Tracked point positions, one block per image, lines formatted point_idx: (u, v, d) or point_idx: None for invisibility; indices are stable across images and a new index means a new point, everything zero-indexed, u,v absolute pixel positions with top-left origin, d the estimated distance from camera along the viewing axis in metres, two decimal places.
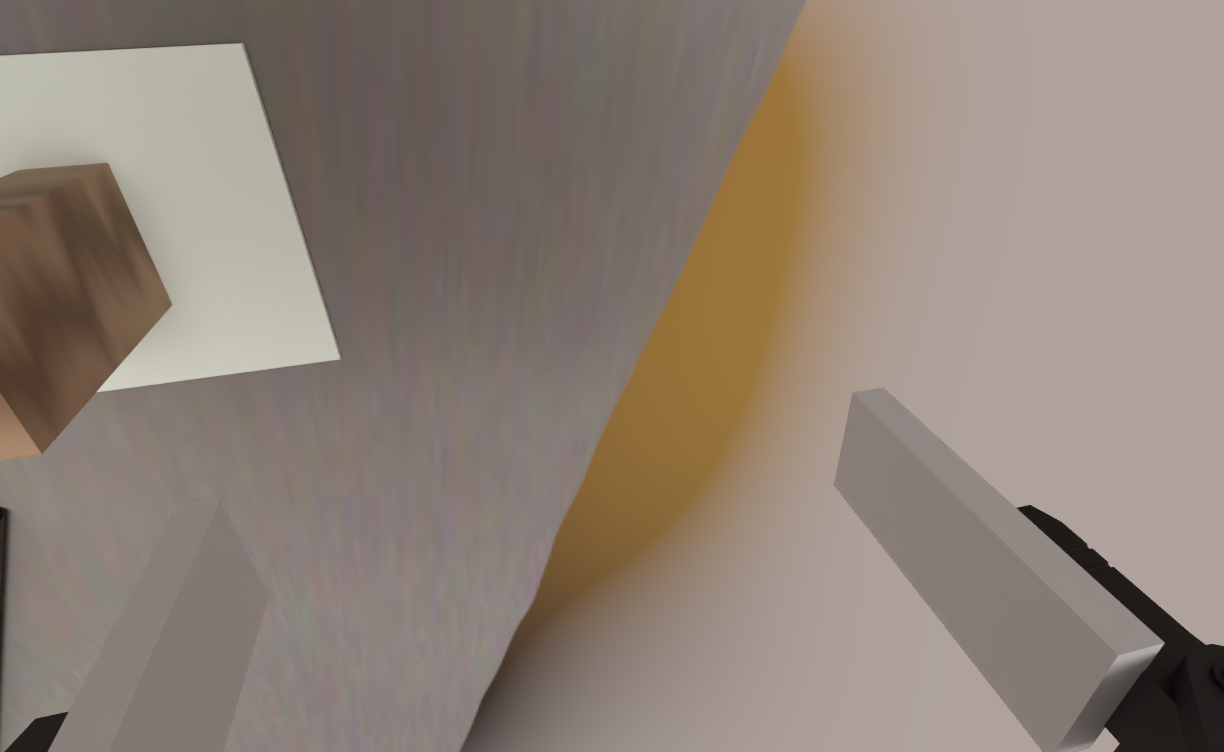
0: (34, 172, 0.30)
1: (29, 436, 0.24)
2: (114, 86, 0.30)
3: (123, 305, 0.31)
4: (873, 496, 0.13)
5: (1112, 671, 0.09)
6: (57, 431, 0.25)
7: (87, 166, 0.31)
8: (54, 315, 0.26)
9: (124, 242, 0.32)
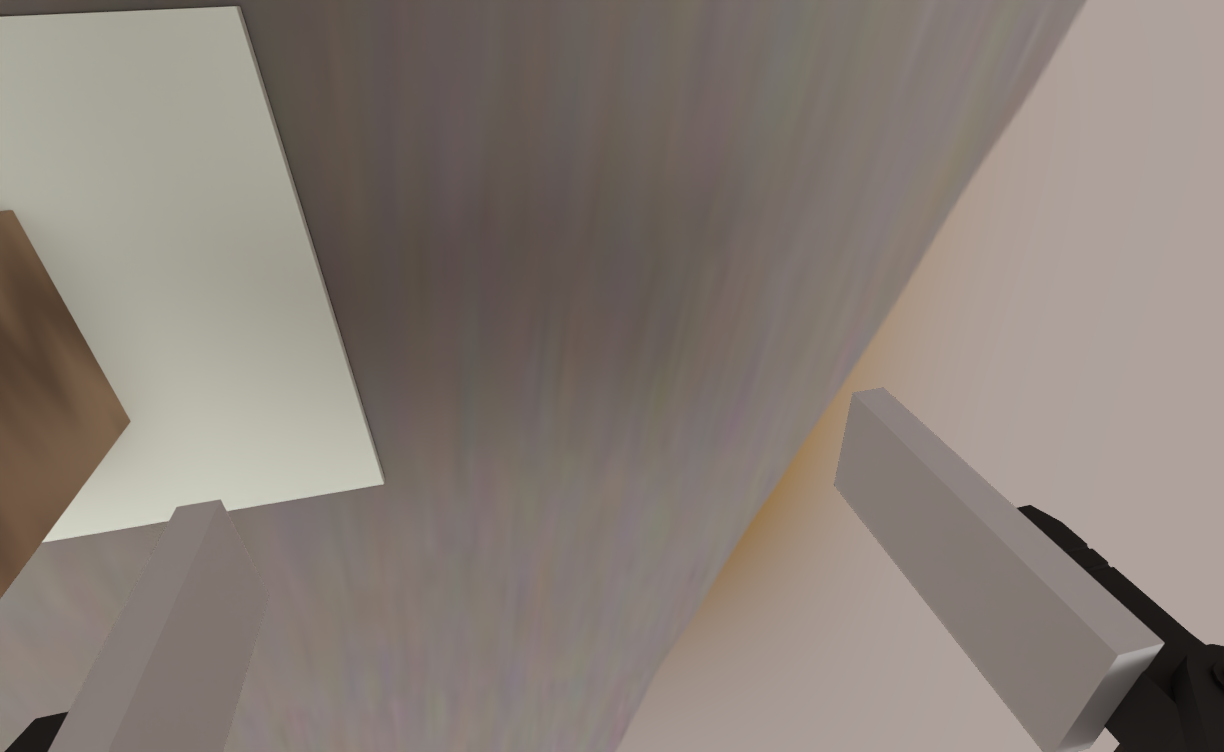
0: None
1: None
2: (14, 81, 0.17)
3: (36, 451, 0.18)
4: (873, 496, 0.13)
5: (1111, 671, 0.09)
6: None
7: None
8: None
9: (42, 340, 0.19)
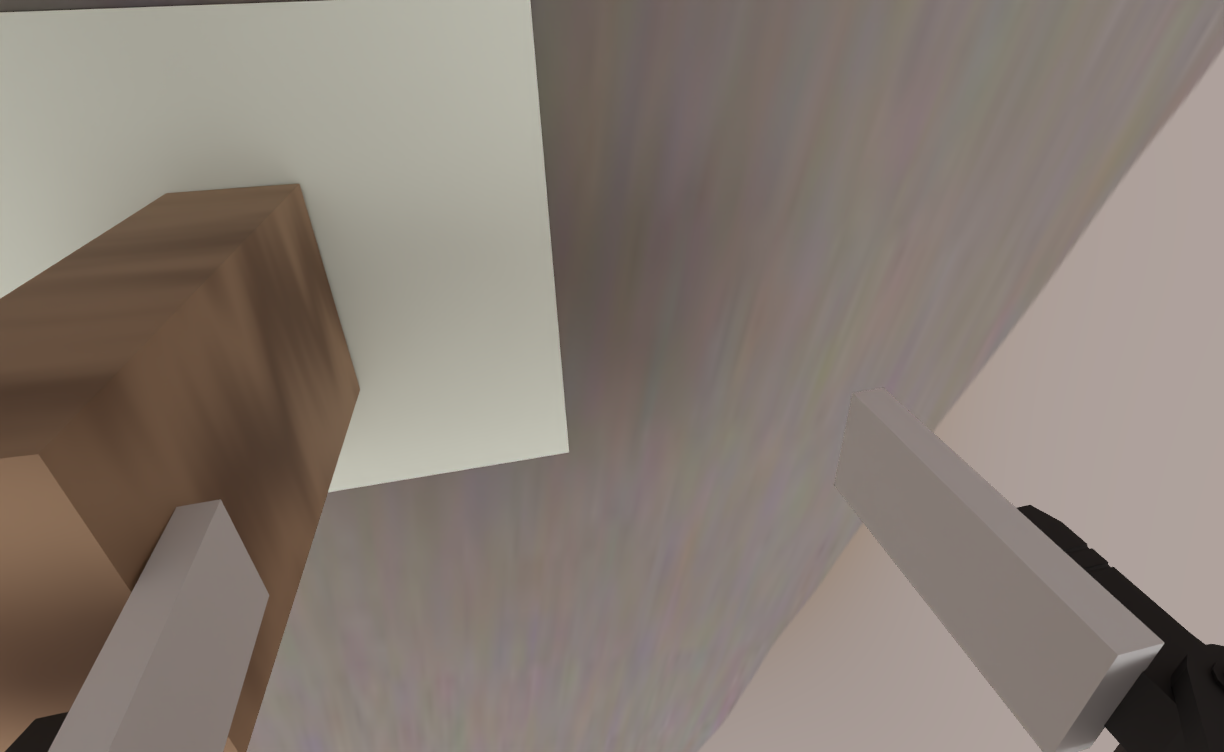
0: (193, 198, 0.19)
1: (228, 736, 0.12)
2: (327, 61, 0.19)
3: (320, 411, 0.20)
4: (874, 496, 0.13)
5: (1112, 671, 0.09)
6: (260, 694, 0.14)
7: (271, 189, 0.20)
8: (252, 468, 0.15)
9: (318, 307, 0.20)
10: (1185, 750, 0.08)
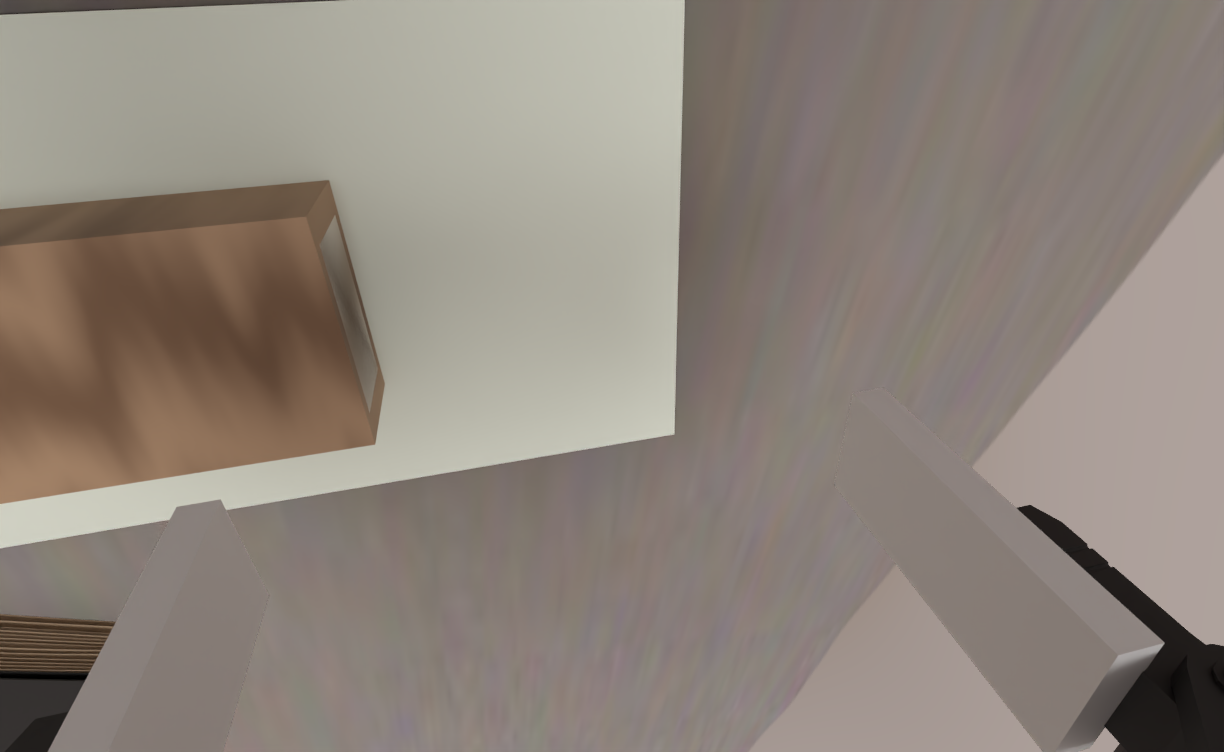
0: (290, 192, 0.19)
1: None
2: (494, 52, 0.20)
3: (213, 416, 0.20)
4: (873, 496, 0.13)
5: (1112, 671, 0.09)
6: None
7: (290, 211, 0.18)
8: (5, 393, 0.18)
9: (277, 339, 0.19)
10: (1185, 750, 0.08)
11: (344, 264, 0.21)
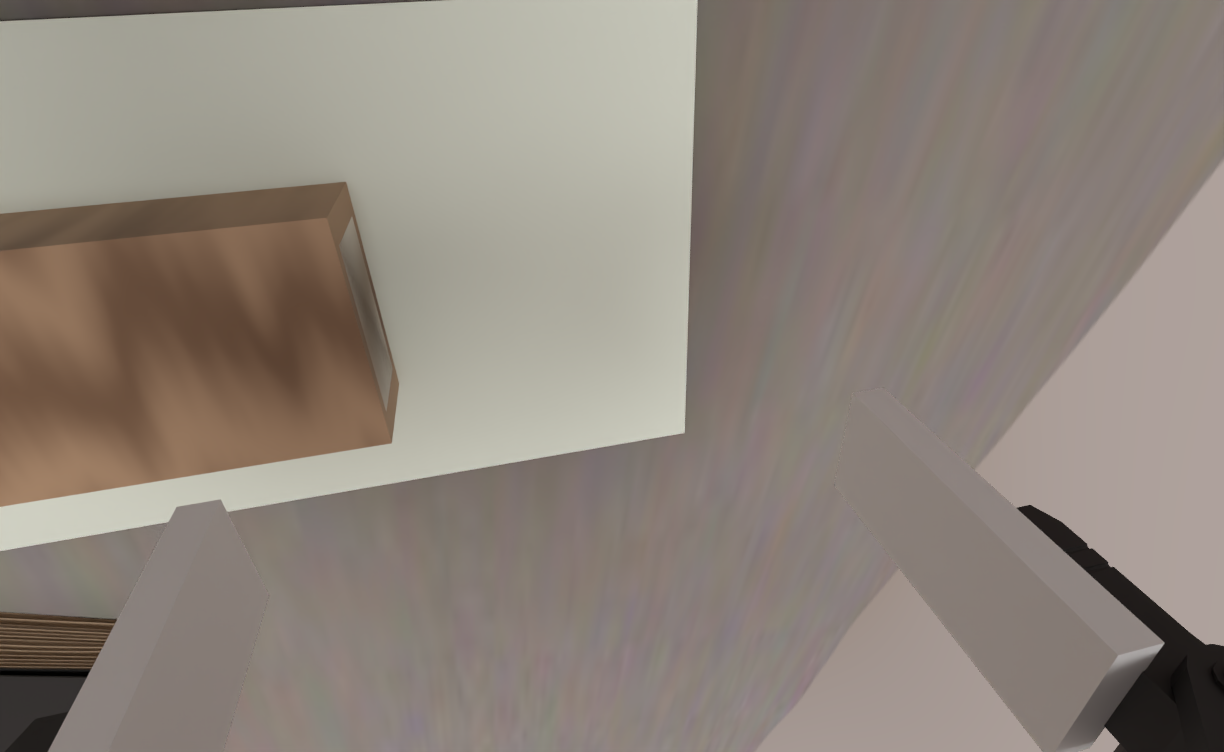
0: (309, 194, 0.20)
1: None
2: (509, 54, 0.20)
3: (233, 416, 0.20)
4: (873, 496, 0.13)
5: (1112, 671, 0.09)
6: None
7: (310, 212, 0.18)
8: (30, 393, 0.18)
9: (297, 339, 0.19)
10: (1185, 750, 0.08)
11: (361, 265, 0.21)
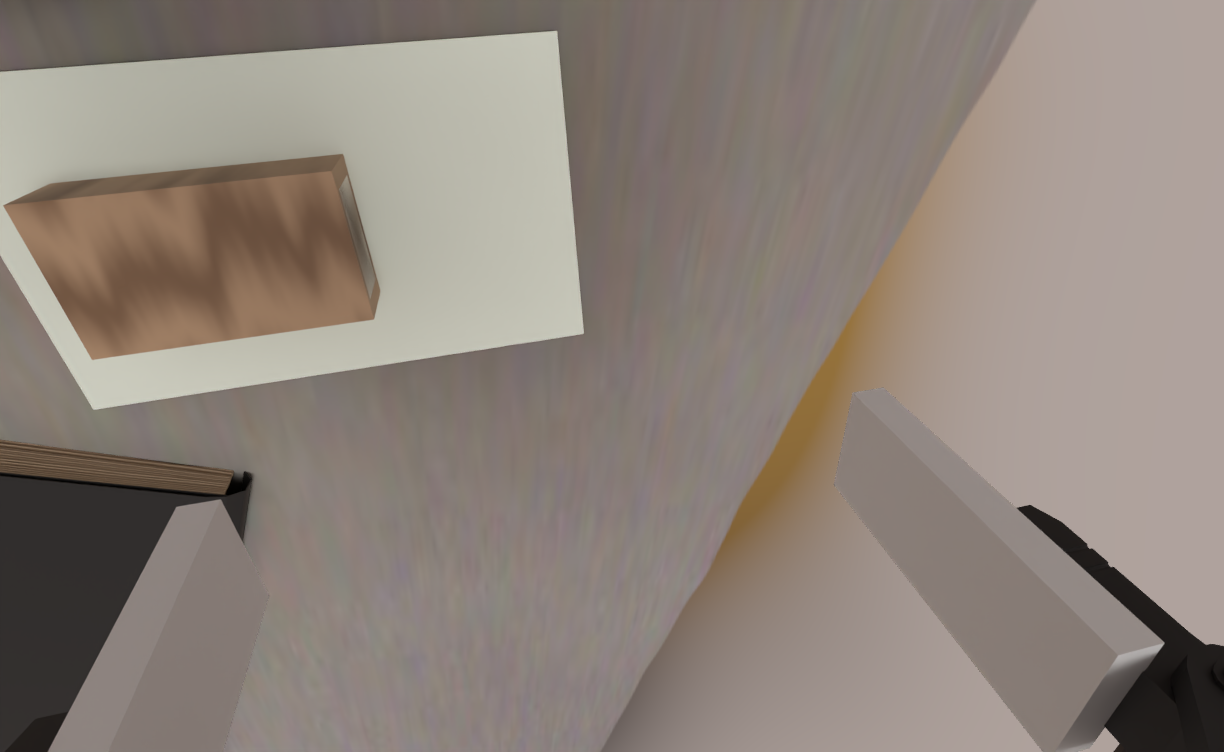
0: (320, 160, 0.32)
1: (83, 344, 0.31)
2: (441, 73, 0.32)
3: (275, 297, 0.32)
4: (873, 496, 0.13)
5: (1112, 671, 0.09)
6: (118, 353, 0.32)
7: (321, 168, 0.30)
8: (159, 278, 0.31)
9: (315, 247, 0.32)
10: (1185, 750, 0.08)
11: (353, 206, 0.34)
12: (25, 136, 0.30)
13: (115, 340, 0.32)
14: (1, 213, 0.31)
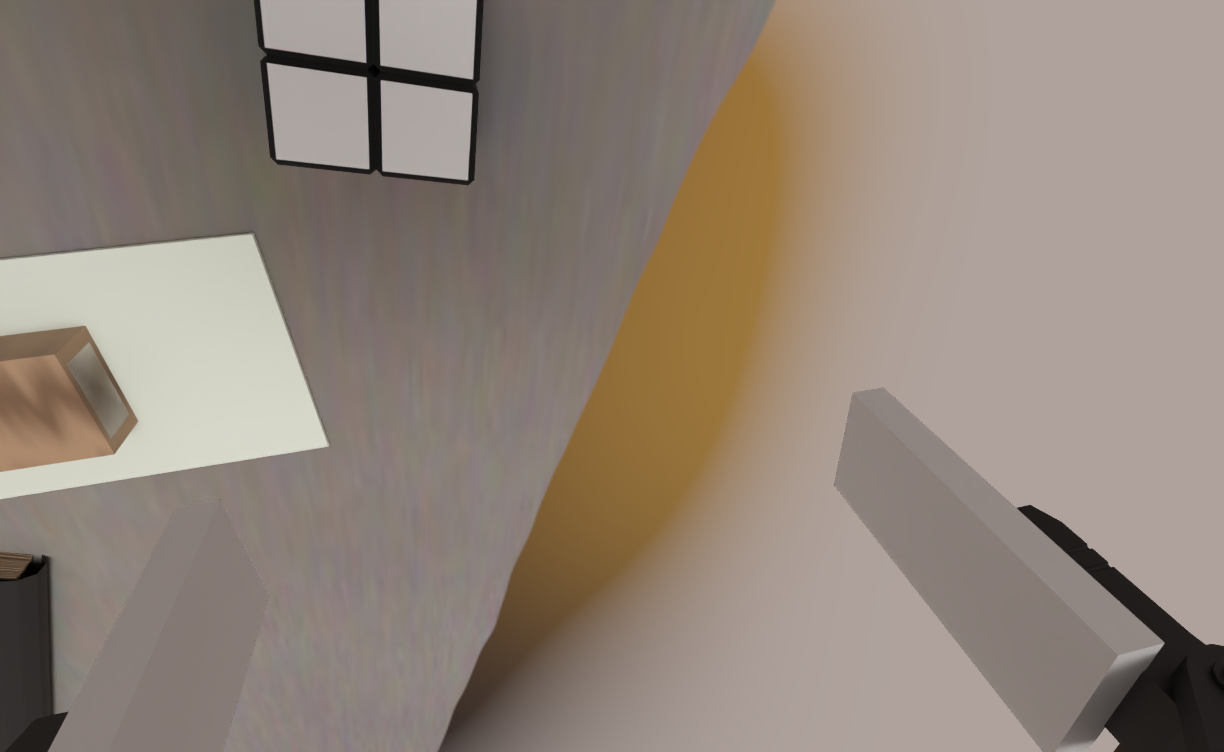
0: (60, 335, 0.41)
1: None
2: (158, 267, 0.41)
3: (25, 441, 0.41)
4: (874, 496, 0.13)
5: (1112, 671, 0.09)
6: None
7: (50, 350, 0.39)
8: None
9: (51, 406, 0.40)
10: (1185, 750, 0.08)
11: (95, 365, 0.42)
12: None
13: None
14: None
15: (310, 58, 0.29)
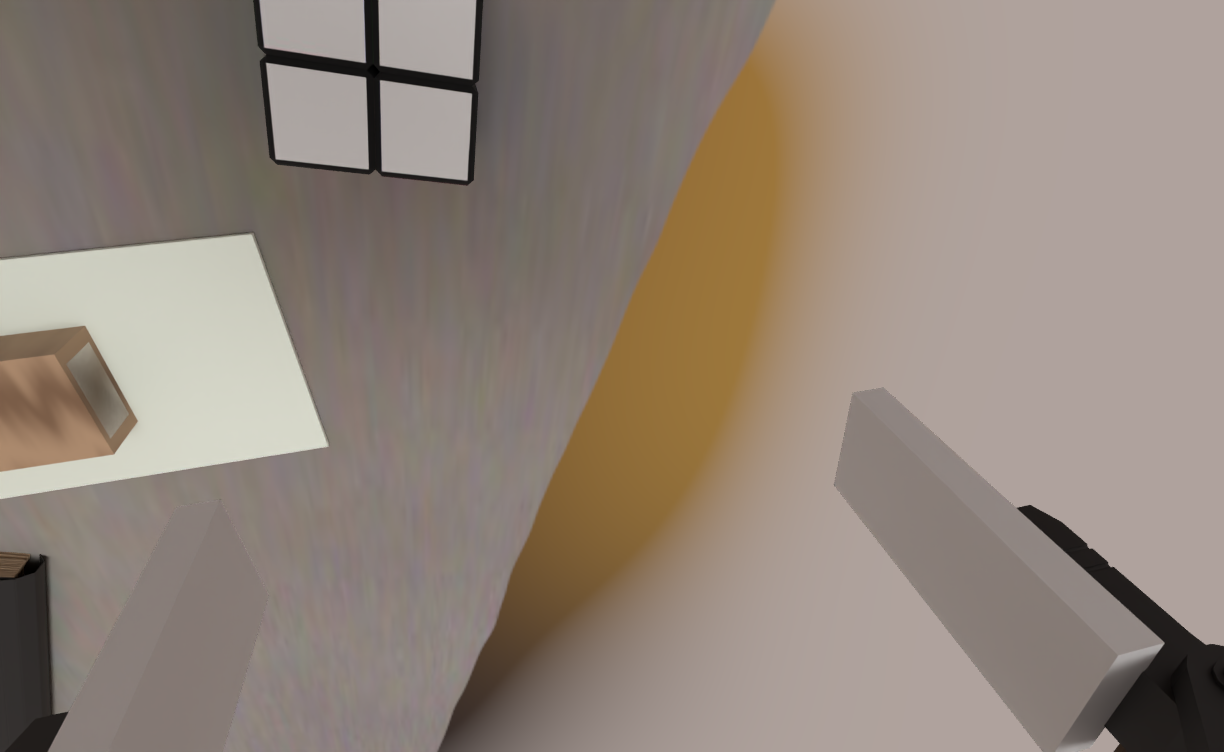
0: (60, 335, 0.41)
1: None
2: (158, 267, 0.41)
3: (25, 441, 0.41)
4: (874, 496, 0.13)
5: (1112, 671, 0.09)
6: None
7: (49, 350, 0.39)
8: None
9: (51, 406, 0.40)
10: (1185, 750, 0.08)
11: (95, 365, 0.42)
12: None
13: None
14: None
15: (309, 58, 0.29)
